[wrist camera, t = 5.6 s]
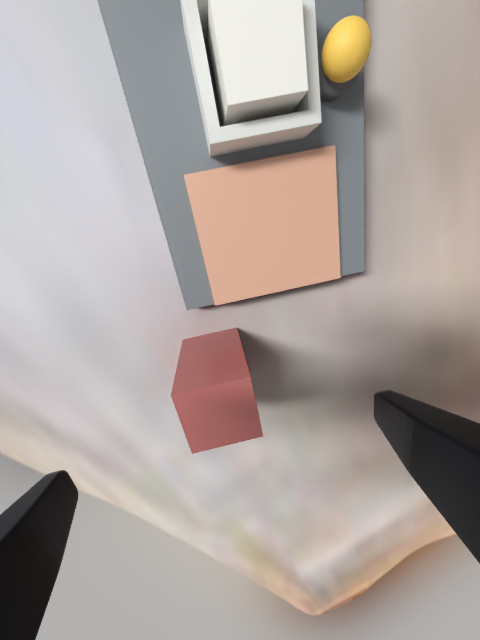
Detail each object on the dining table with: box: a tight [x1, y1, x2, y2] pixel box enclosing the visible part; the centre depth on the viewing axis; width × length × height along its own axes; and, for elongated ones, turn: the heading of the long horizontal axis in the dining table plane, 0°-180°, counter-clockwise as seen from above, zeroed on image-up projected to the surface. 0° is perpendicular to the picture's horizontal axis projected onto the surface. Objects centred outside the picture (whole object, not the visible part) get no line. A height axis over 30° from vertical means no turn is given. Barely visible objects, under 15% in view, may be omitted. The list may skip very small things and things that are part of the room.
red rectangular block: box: [171, 328, 263, 454], centre depth 18 cm, size 4×4×7 cm
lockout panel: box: [98, 0, 371, 310], centre depth 14 cm, size 13×16×4 cm
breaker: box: [208, 0, 308, 126], centre depth 12 cm, size 4×4×3 cm
